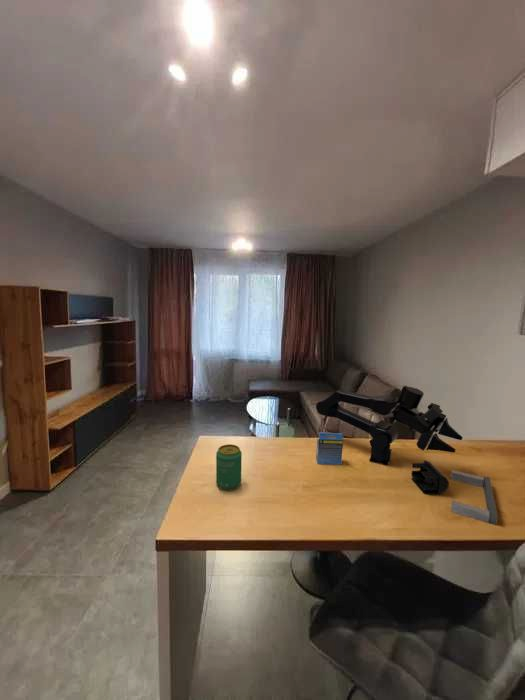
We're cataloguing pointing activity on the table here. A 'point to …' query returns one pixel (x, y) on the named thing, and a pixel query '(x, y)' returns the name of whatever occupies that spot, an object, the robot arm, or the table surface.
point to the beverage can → (228, 467)
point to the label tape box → (329, 448)
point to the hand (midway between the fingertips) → (458, 444)
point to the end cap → (429, 479)
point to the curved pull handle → (472, 511)
